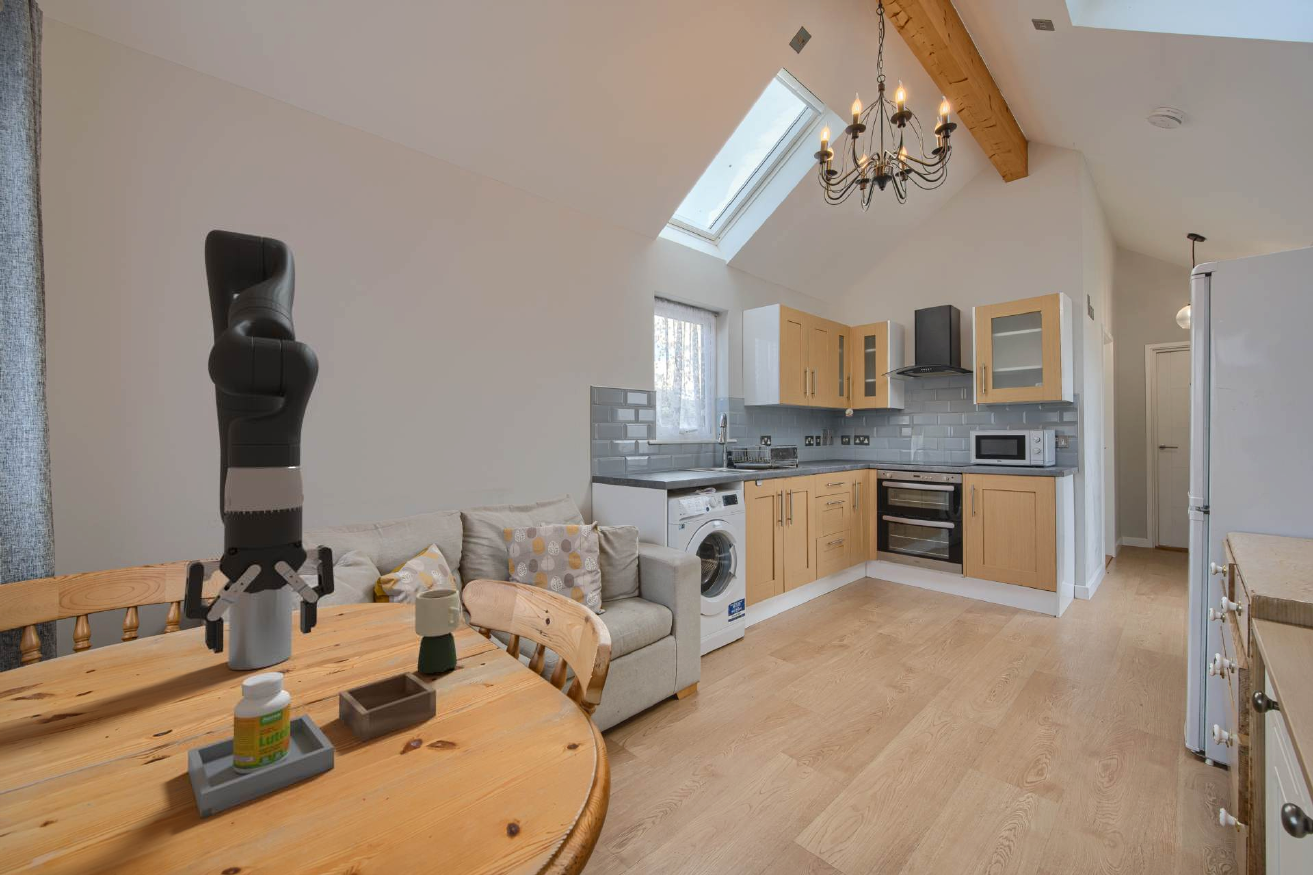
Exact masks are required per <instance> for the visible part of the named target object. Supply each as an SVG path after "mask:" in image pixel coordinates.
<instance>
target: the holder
mask: <svg viewBox="0 0 1313 875" xmlns="http://www.w3.org/2000/svg"><path fill="white" fill-rule="evenodd" d="M338 695H339V696H338V718H339V719H340V720H341V722H343V724H345V726H346V727H348V729H349V730H350V731H351V732H352V734H354V736H356V737H357V739H358V740H359V741H360V742H361V743H364V742H366V741H369V740H373V739H375V738H379V737H380V736H383V735H386V734H389V733H391V732H394V731H396V730H401V729H403V728H405V727H408V726H411V725H414V724H416V723H419V722H421V721H425V720H427V719H430V718H432V717H433V718H434V717H435V716H437V689H435V688H434V687H432V686H430V685H429V684H428V683H426V682H424V681H423V680H422V679H420V678H419V677H417V676H416V675H414V674H413V673H412V672H410V671H406V672H403V673H400V674H396V675H394V676H393V675H392V676H390V677H386V678H383V679H380V680H376V681H373V682H368V683H366V684H362V685H360V686H356V687H353V688H350V689H346V690H342V691H339V692H338Z"/></svg>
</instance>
